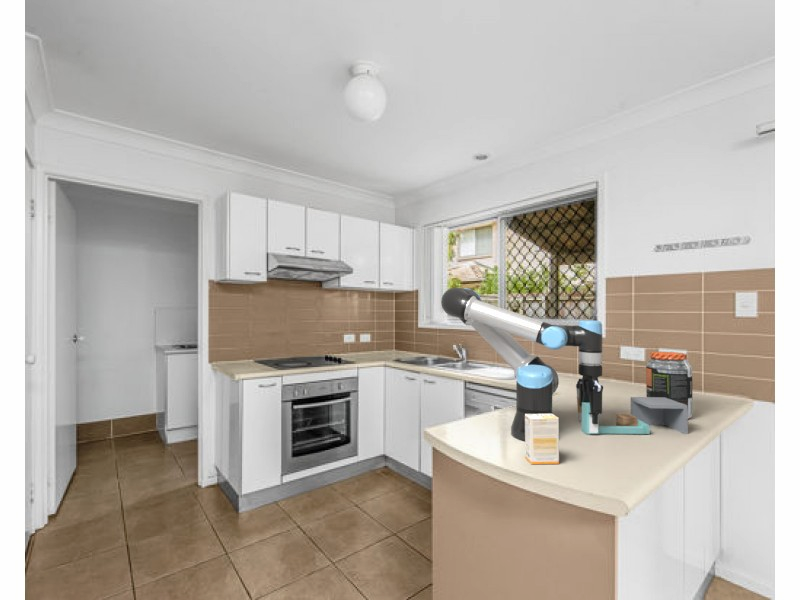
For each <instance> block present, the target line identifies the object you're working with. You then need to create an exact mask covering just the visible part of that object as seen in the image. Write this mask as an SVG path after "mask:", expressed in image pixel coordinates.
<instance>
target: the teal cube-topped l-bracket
mask: <svg viewBox="0 0 800 600" xmlns="http://www.w3.org/2000/svg"><path fill="white" fill-rule="evenodd" d="M589 413H591V411H590V403H583V402H582V421H581V431H582V432H583V433H584V434H586V435H599V434H603V435H604V434H605V435H606V434H612V435H613V434H617V435H618V434H621V435H625V434H626V435H627V434H628V435H629V434H630V435H635V434H636V435H650V433H651V432H650V431H651V430H650V428H651V427H650V425H651V424H646V423H644V422H642V421H640V420H638V426H616V425H599V422H600V421H599V419H600V418H599V417H600V414H599V415H598V433H589Z"/></svg>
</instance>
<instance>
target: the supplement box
mask: <svg viewBox="0 0 800 600" xmlns="http://www.w3.org/2000/svg"><path fill="white" fill-rule="evenodd" d="M559 419H560V418H559V416H556V415H555V414H553V413H552V414H525V441H524V445H525V446H524V451H525V453H524V456H525V460H526V461H527V462H528V463H529V462H530V463H531V464H530V463H529V464H530V465H559V464H560V433H559V432H560V428H559V427H560V425H559V424H560V422H559V421H560V420H559Z"/></svg>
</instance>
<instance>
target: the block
mask: <svg viewBox="0 0 800 600" xmlns="http://www.w3.org/2000/svg"><path fill="white" fill-rule="evenodd" d="M615 426H638V418H636V417H634V416H632V415H631V413H616V414H615Z"/></svg>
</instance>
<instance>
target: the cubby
mask: <svg viewBox="0 0 800 600" xmlns="http://www.w3.org/2000/svg"><path fill="white" fill-rule="evenodd" d="M630 415H632V416H634V417H636V418H638V420H640V421H642V422H644V423H646V424H648V425H664V426H666V427H668V428H671V429H673V430H675V431H677V432H679V433H682V434H684V435H685V434H686V435H687V434H688V429H689V428H688V427H689V426H688V421H689V420H688V412H687V405H685V404H682V403H679V402H676V401H674V400H671V399H668V398H665V397H647V396H630Z"/></svg>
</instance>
